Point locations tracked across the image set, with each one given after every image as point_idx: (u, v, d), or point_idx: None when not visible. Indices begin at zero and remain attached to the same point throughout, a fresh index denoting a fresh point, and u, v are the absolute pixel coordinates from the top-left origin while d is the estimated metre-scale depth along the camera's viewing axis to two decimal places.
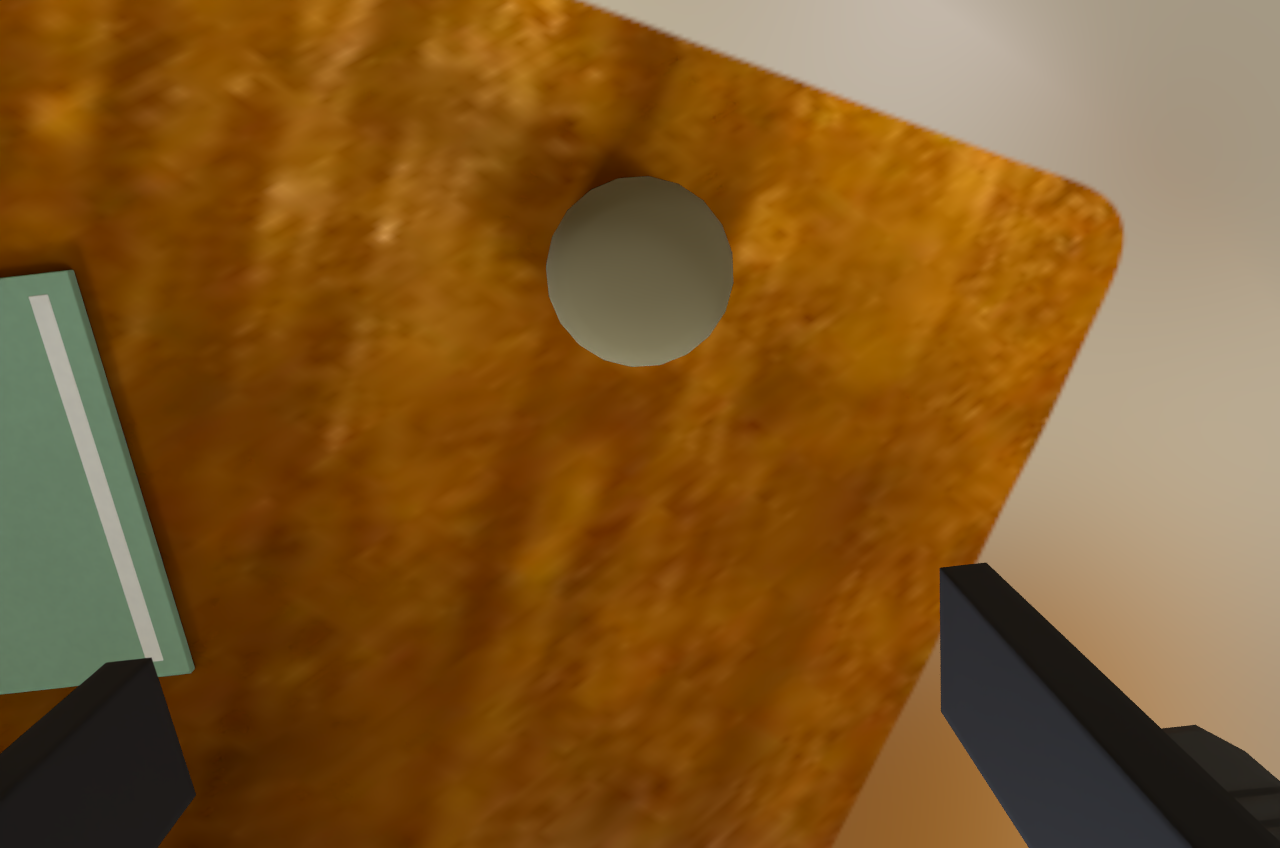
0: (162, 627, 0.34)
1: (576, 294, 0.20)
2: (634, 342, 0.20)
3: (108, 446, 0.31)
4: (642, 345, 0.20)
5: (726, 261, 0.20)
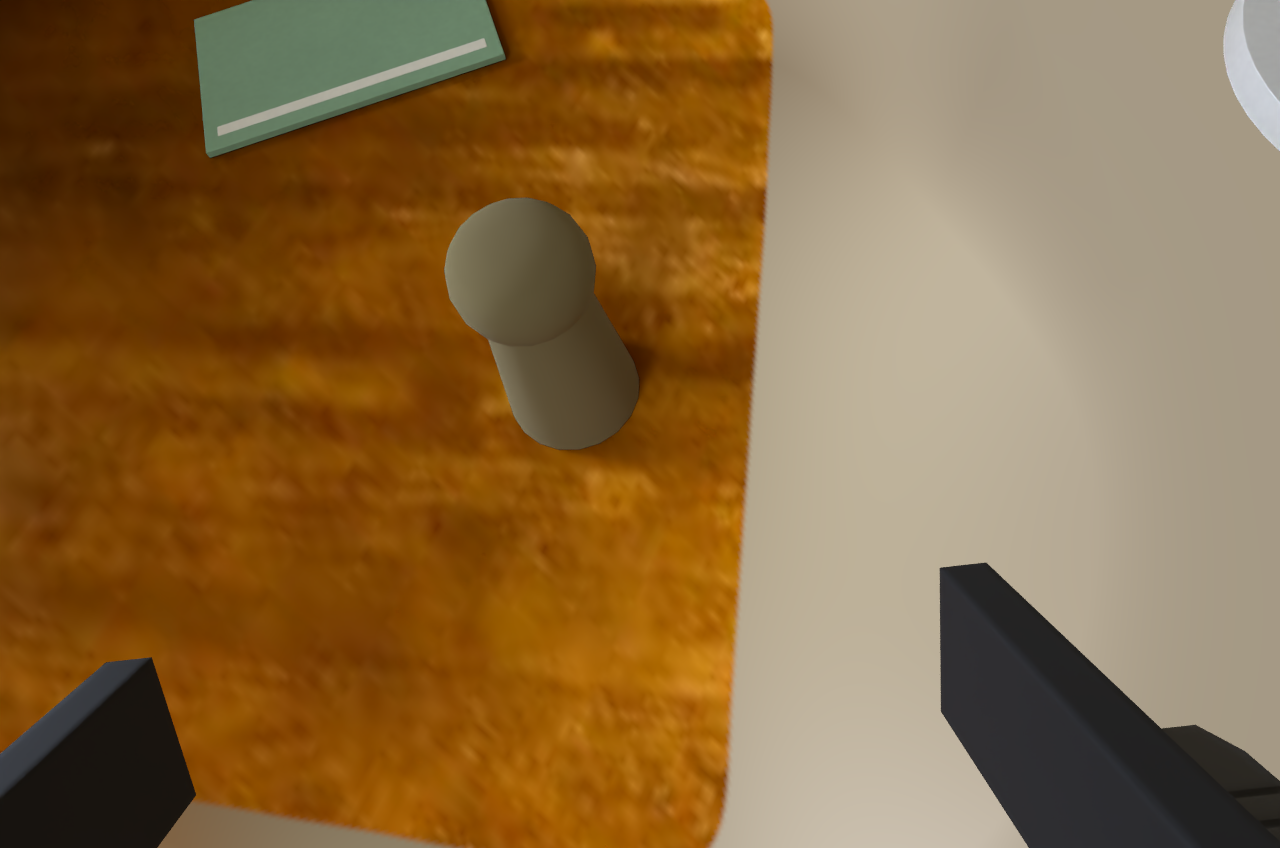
0: (245, 132, 0.44)
1: (490, 208, 0.26)
2: (458, 253, 0.25)
3: (385, 87, 0.44)
4: (457, 259, 0.25)
5: (533, 308, 0.24)
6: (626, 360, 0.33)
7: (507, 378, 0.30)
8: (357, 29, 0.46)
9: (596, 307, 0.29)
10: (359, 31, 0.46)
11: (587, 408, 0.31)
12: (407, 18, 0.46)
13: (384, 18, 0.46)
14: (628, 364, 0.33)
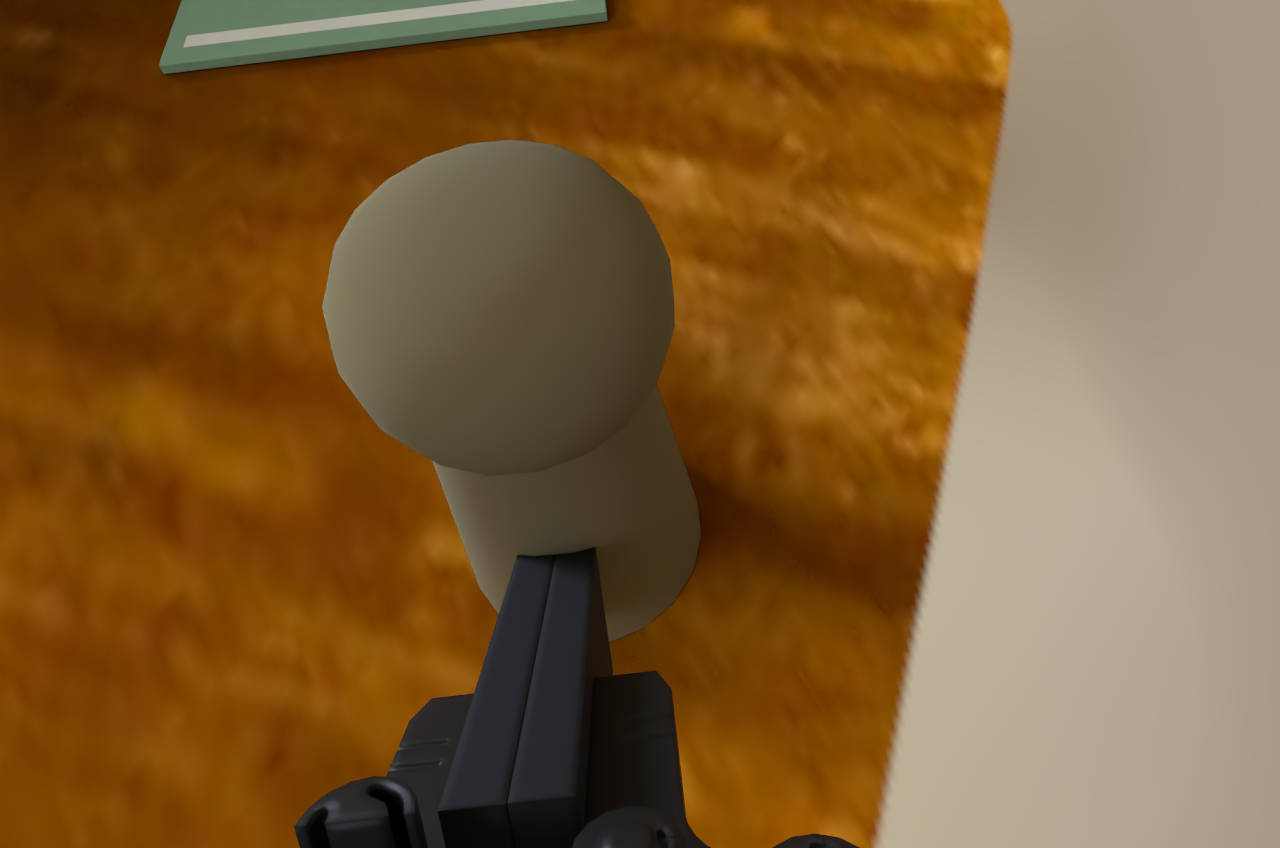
0: (220, 48, 0.30)
1: (465, 150, 0.11)
2: (361, 230, 0.10)
3: (428, 25, 0.30)
4: (353, 243, 0.10)
5: (500, 398, 0.10)
6: (687, 508, 0.17)
7: (451, 507, 0.15)
8: None
9: (654, 410, 0.14)
10: None
11: None
12: None
13: None
14: (689, 515, 0.18)
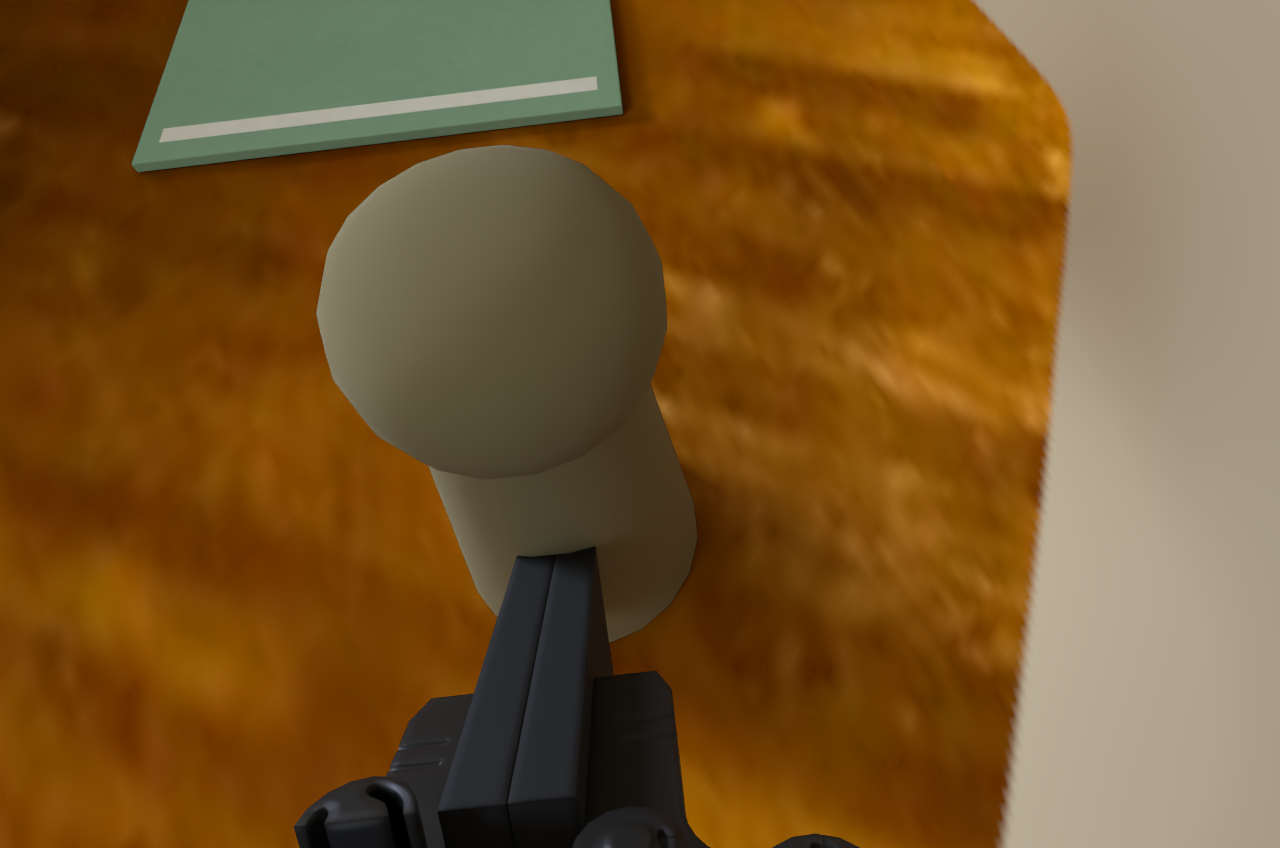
0: (199, 145, 0.28)
1: (457, 156, 0.11)
2: (354, 237, 0.11)
3: (426, 119, 0.28)
4: (346, 250, 0.10)
5: (494, 402, 0.10)
6: (684, 509, 0.17)
7: (447, 511, 0.15)
8: (413, 29, 0.30)
9: (649, 411, 0.14)
10: (415, 32, 0.30)
11: None
12: (490, 27, 0.30)
13: (457, 21, 0.30)
14: (685, 515, 0.18)
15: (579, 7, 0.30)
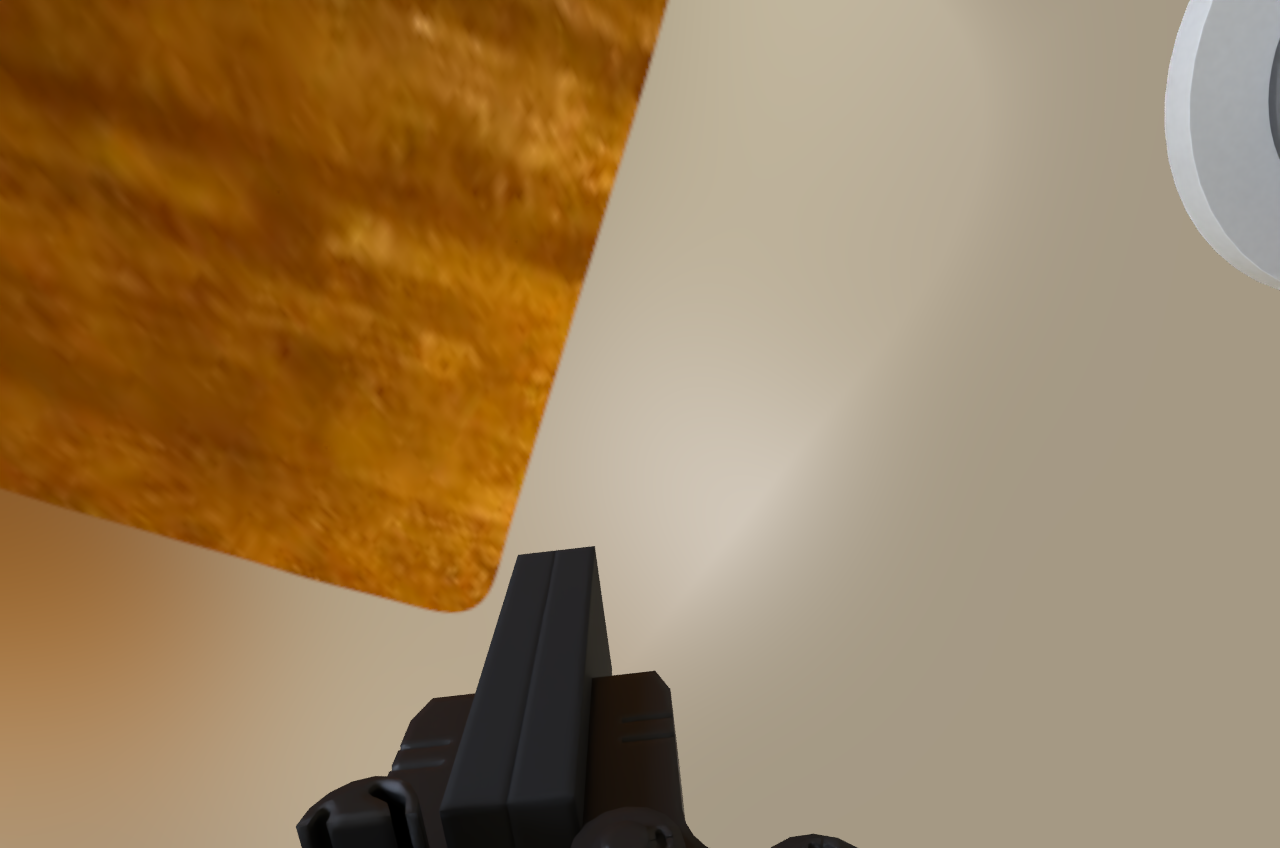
0: None
1: None
2: None
3: None
4: None
5: None
6: None
7: None
8: None
9: None
10: None
11: None
12: None
13: None
14: None
15: None
